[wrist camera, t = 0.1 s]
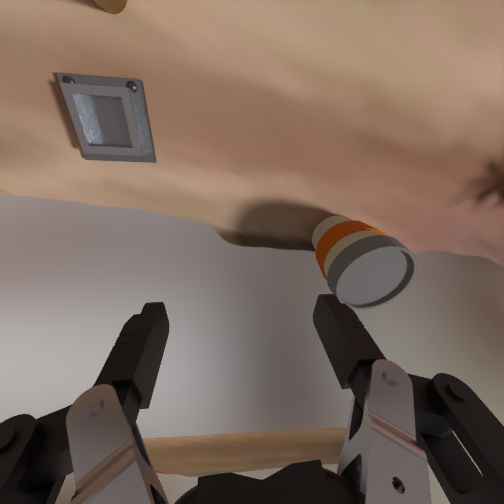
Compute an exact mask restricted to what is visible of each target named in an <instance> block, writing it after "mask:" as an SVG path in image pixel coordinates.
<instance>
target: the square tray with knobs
mask: <svg viewBox="0 0 504 504" xmlns="http://www.w3.org/2000/svg"><path fill="white" fill-rule="evenodd" d="M56 75H57V78H58V81H59V84H60V86H61V89H62V92H63V95H64V98H65V101H66V104H67V107H68V110H69V113H70V116H71V119H72V122H73V125H74V128H75V131H76V133H77V136H78V139H79V142H80V145H81V148H82V151H83V154H84V157H85V160H104V161H129V162H154V163H155V162H156V156H155V150H154V144H153V139H152V133H151V127H150V122H149V116H148V110H147V105H146V99H145V93H144V87H143V82H142V81H141V80H136V79H123V78H111V77H99V76H87V75H75V74H63V73H56Z"/></svg>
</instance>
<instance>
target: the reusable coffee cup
mask: <svg viewBox="0 0 504 504" xmlns="http://www.w3.org/2000/svg"><path fill="white" fill-rule="evenodd" d="M312 244H313V246H314V249H315V251H316V259H317V261H318V264H319V266H320V269H321V271H322V273H323V276H324V278H325V279H326V280H327V283H328V286H329V288H330V290H331V291H332V292H333V294H335V295H336V297H337V298H338V300H339V301H340V302H341V303H345V304H346V305H347V306H349V307H350V308H351V309H357V310H365V309H371V308H375V307H379V306H381V305H384V304H386V303H388V302H390V301H392V300H393V299H395V298H396V297H398V296H399V295H400V294H401V293H402V292H403V291H405V290H406V288H407V287H408V286H409V285H410V283H411V282H412V280H413V279H414V277H415V274H416V270H417V260H416V258H415V256H414V255H413V254H412V253H411V252H410V251H409V250H408V249H407V248H406V247H405V246H404V245H403V244H402V243H401V242H399V241H398V240H397V239H395V238H393V237H390V236H387V235H386V234H385V233H384V232H382V231H380V230H378V229H376V228H374V227H371V226H369V225H367V224H365V223H363V222H360V221H353V220H351V219H349V218H347V217H345V216H341V215H335V216H331V217H328V218H326V219H324V220H323V221H321V222H320V223H319V224H318V225H317V226H316V228H315V229H314V231H313V234H312Z"/></svg>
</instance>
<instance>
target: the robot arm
mask: <svg viewBox="0 0 504 504" xmlns="http://www.w3.org/2000/svg"><path fill="white" fill-rule="evenodd" d="M313 321H314V325H315V328H316V330H317V332H318V335H319V337H320V339H321V342H322V344H323V346H324V348H325V351H326V353H327V355H328V358H329V360H330V362H331V364H332V367H333V369H334V372H335V373H336V376H337V379H338V381H339V383H340V385H341V387H342V389H349V388H351V390H352V392H353V394H354V395H353V398H352V403H351V410H350V415H349V421H348V427H347V433H346V439H345V444H344V447H343V450H342V452H341V455H340V459H339V463H338V469H337V474H336V473H334V472H332V471H330V470H328V469H325V468H322V464H321V460H314V461H307V462H300V463H293V464H290V465H288V466H287V467H285V468H283V469H281V470H280V471H278V472H276V473H274V474H273V475H271V476H269V477H268V478H266V479H263V480H259V479H255V478H251V477H247V476H242V475H238V474H234V473H222V474H215V475H208V476H201V477H198V485H197V486H195V487H193V488H191V489H190V490H189V491H187V492H186V493H185V494H183V496H181V497H180V498H179V499H178V500H177V501H176V502H175V503H174V504H431V494H430V483H429V472H428V463H429V465H430V467H431V469H432V471H433V473H434V474H435V476H436V478H437V480H438V482H439V483H440V485H441V487H442V489H443V491H444V493H445V494H446V496H447V498H448V500H449V502H450V504H504V426H503V425H502V424H501V423H500V422H499V420H498V419H497V418H496V417H495V416H494V415H493V413H492V412H491V411H490V410H489V409H488V408H487V407H486V405H485V404H484V403H483V402H482V401H481V400H480V399H479V397H478V396H477V395H476V394H475V393H474V392H473V390H472V389H471V388H469V386H467V385H466V384H465V383H463V382H462V381H461V380H459V379H458V378H456V377H454V376H452V375H449V374H445V373H439V374H436V375H435V376H434V377H433V378H432V379H428V378H424V377H420V376H415V375H411V374H408V373H406V372H405V371H404V370H403V369H402V368H401V367H400V366H398V365H397V364H395V363H393V362H391V361H389V360H387V359H386V358H385V357H384V355H383V354H382V352H381V351H380V349H379V348H378V346H377V345H376V344H375V342H374V340H373V339H372V337H371V336H370V334H369V333H368V332H367V330H366V329H365V328H364V325H363V324H362V323H361V321H359V318H358V317H357V315H356V314H355V312H354V311H353V310H352V309H351V308H350V307H349V306H347V305H346V304H345V303H340V301H339V300H338V298H337V297H336V295H335V294H321V295H319V296H318V299H317V302H316V305H315V309H314V313H313ZM168 334H169V320H168V317H167V313H166V309H165V305H164V303H163V302H153V303H146V304H145V305H144V307H143V309H142V312H141V314H136V315H133V316H132V317H131V318H130V319H129V320H128V321H127V322H126V323H125V324H124V326H123V328H122V330H121V332H120V335H119V337H118V339H117V340H116V343H115V346H114V347H113V348H112V350H111V352H110V354H109V356H108V358H107V360H106V362H105V364H104V367H103V368H102V370H101V372H100V374H99V376H98V378H97V380H96V382H95V384H94V385H93V387H92V388H90V389H88V390H87V391H85V392H84V393H83V394H81V395H80V396H79V397H78V398H77V399H76V401H75V402H74V403H73V404H72V405H70V406H68V407H65V408H63V409H60V410H58V411H56V412H53V413H50V414H48V415H46V416H43V417H40V418H38V419H35V418H34V417H33V416H31V415H29V414H21V415H17V416H14V417H11V418H9V419H7V420H5V421H4V422H2V423H0V504H55V502H56V499H57V497H58V494H59V492H60V490H61V487H62V485H63V482H64V480H65V477H66V475H68V474H70V473H72V472H74V478H75V485H76V491H75V494H74V495H73V497H72V499H71V504H169V503H168V500H167V498H166V495H165V492H164V490H163V487H162V485H161V483H160V480H159V479H158V476H157V474H156V472H155V470H154V468H153V465H152V463H151V460H150V458H149V455H148V452H147V450H146V447H145V444H144V442H143V439H142V437H141V434H140V431H139V429H138V426H137V424H136V419H137V416H138V413H139V409H146V408H149V405H150V401H151V398H152V394H153V390H154V386H155V383H156V379H157V375H158V371H159V368H160V364H161V360H162V357H163V353H164V349H165V345H166V342H167V338H168ZM452 431H454V432H455V434H456V435H457V437H458V438H459V440H460V441H461V443H462V444H463V446H464V447H465V448H466V450H467V451H468V453H469V454H470V456H471V457H472V459H473V460H474V462H475V463H476V464H477V466H478V467H479V469H480V471H481V473H482V475H483V476H482V475H481V473H480V472H479V471H478V469H477V467H476V466H475V465H474V463H473V462H472V461H471V459H470V457H469V456H468V454H467V453H466V451H465V450H464V448H463V447H462V445H461V444H460V443H459V441H458V440H457V438H456V437H455V435H454V434H453V432H452ZM417 443H418V444H417Z"/></svg>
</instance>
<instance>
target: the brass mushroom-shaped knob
mask: <svg viewBox="0 0 504 504" xmlns="http://www.w3.org/2000/svg"><path fill="white" fill-rule="evenodd" d="M93 1H94V2H95V3H96V4H97V5H99V6H100V7H101V8H102V9H103V10H105V11H106V12H108V13H111V14H118V13H120V12H122V11H123V9H124V8H125V6H126V2H127V0H93Z"/></svg>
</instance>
